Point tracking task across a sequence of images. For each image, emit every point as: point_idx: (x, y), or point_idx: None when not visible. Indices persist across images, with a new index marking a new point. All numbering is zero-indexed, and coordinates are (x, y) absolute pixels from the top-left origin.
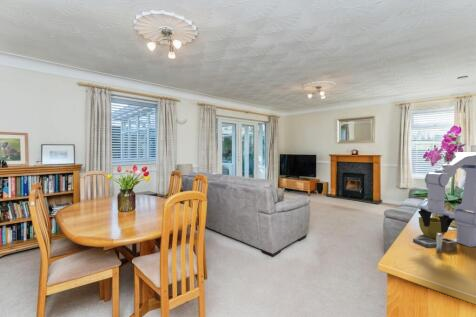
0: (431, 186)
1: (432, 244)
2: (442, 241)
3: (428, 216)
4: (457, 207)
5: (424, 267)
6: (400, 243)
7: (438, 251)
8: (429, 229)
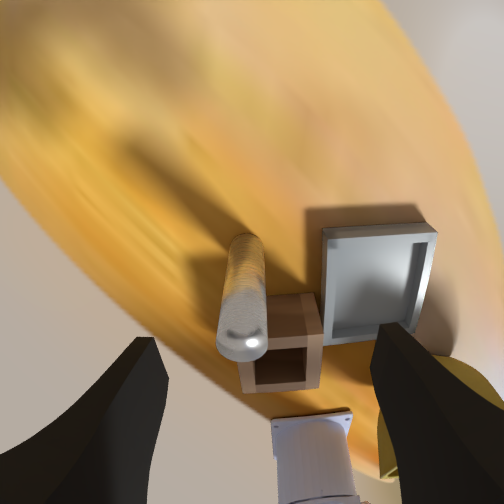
0: None
1: (324, 281)
2: (274, 333)
3: (415, 478)
4: None
5: None
6: (421, 89)
7: (236, 237)
8: None
